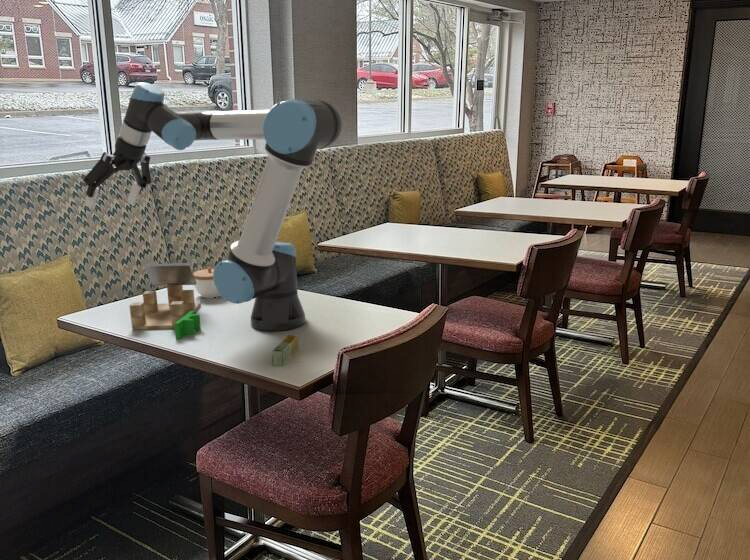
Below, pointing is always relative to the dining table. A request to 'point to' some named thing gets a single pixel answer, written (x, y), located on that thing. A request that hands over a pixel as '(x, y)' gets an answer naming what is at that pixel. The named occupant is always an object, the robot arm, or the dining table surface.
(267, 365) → the dining table surface
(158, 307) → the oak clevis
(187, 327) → the pipe clamp
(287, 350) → the medication box
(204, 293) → the lidded jar
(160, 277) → the plate
